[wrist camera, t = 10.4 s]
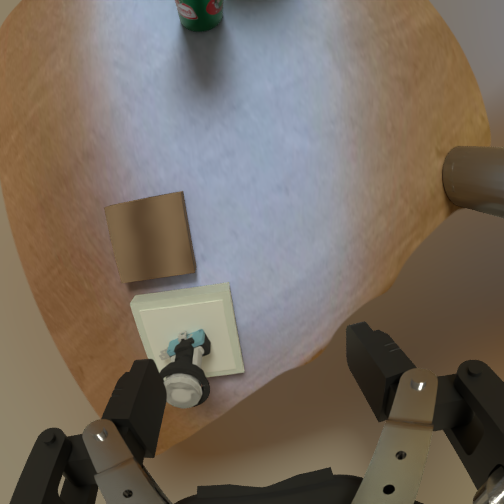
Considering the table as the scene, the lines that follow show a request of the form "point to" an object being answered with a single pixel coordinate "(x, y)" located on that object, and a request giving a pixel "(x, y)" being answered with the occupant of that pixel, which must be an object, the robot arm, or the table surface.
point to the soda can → (200, 14)
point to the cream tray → (191, 325)
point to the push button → (186, 369)
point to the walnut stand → (151, 237)
